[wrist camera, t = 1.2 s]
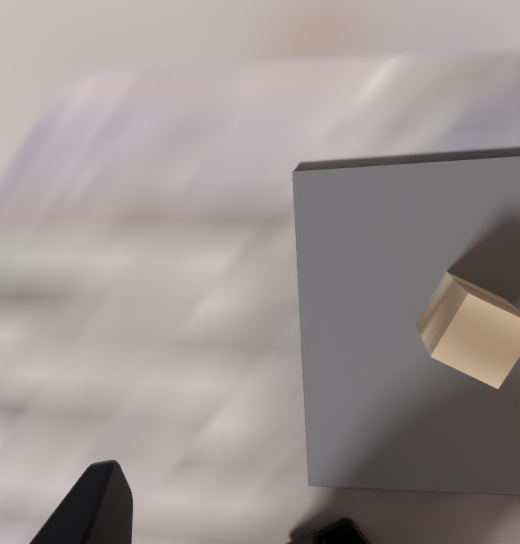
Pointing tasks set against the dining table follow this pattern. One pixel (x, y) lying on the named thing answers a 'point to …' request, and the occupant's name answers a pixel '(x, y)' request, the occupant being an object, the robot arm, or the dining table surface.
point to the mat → (404, 324)
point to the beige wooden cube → (471, 330)
